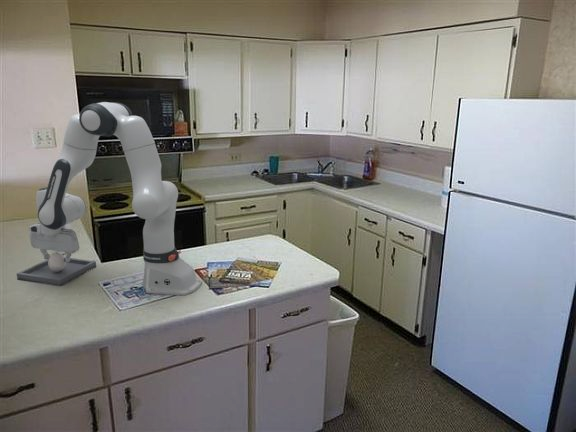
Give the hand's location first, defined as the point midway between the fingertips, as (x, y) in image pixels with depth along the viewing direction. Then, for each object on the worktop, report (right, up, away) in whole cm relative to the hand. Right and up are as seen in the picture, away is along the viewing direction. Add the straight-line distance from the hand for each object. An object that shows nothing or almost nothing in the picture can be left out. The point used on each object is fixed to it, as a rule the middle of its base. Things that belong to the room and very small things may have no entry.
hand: (57, 260), depth 174 cm
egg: (0, -5, +1) cm, 5 cm away
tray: (0, -5, +1) cm, 6 cm away
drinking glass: (-9, +1, +24) cm, 25 cm away
